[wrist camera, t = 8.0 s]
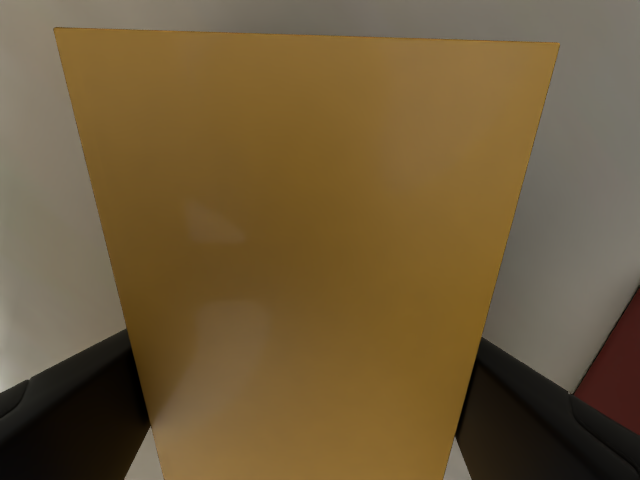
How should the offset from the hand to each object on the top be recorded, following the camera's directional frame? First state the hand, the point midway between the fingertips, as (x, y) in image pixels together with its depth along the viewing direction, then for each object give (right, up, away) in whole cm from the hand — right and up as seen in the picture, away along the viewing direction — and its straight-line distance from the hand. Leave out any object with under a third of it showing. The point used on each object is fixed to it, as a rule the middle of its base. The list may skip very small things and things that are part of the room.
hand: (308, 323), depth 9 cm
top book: (0, 0, +1) cm, 1 cm away
